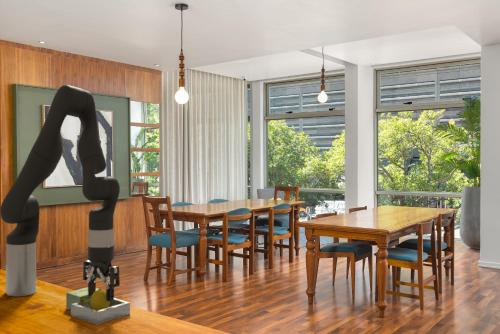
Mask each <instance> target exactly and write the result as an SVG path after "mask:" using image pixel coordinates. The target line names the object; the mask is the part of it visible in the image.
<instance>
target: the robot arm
mask: <svg viewBox="0 0 500 334" xmlns="http://www.w3.org/2000/svg"><path fill="white" fill-rule="evenodd" d="M67 116H71V117H73V118H78V119H79V121H80V123H81V126H82V127H81V128H82V131H81V134H80V137H79V140H78V142H77V153H78V156H79V157H78V158H79V161H80V163H81V168H82V186H81V187H82V190H81V191H82V194H83V195H82V196H84V198H85V199H86V200H87V201H90V202H99V201H102V203H101V205H100V206H98V207H95V208H93V209H91V210H90V211H89V212H88V233H87V260H84V261H83V266H82V267H83V268H82V269H83V271H82V280H84V281H86V283H87V287H88V295H89V296H92V294H93V293H94V292H95V291H96V288H97V285H96V284H97V283H96V281H97V280H98V279H99V280H101V282H102V283H103V284H104V286H105V291H106V301H108V302H109V301H113V299H114V298H115V288H118V287H120V286H121V285H120V266H119V265H115V266H113V265H112V261H113V260H114V258H115V232H114V215H115V211H116V207H117V203H118V200H119V197H120V188H121V186H120V183H119V180H118V179H117V178H116V177H114V176H96V175H98V174H101V173H103V172H104V171H105V170H106V169H107V161H106V158H105V155H104V151H103V149H102V145H101V141H100V137H99V128H98V120H97V118H98V117H97V110H96V103H95V98H94V96H93V94H92V93H91V92H90V91H89V90H86V89H84V88H80V87H76V86H74V85H69V84H63V85H62V86H60V87H59V88H58V89H57V91H56V92H55V94H54V97H53V99H52V101H51V104H50V107H49V110H48V112H47V116H46V118H45V120H44V123H43V125H42V127H41V129H40V131H39V134H38V136H37V138H36V140H35V142H34V144H33V145H32V147H31V150H30V151H29V153H28V155H27V158H26V159H25V160H26V161H25V162H24V165H23V166H22V168H21V170H20V172H19V174H18V176H17V178H16V179H15V181H14V183H13V185H12V186H11V188H10V189H9V191H8V192H7V194H5V196H4V199H3V200H2V202H1V205H0V217H1V219H2V221H3V222H4V223H7V224H9V225H11V224H12V225H14V224H16V225H15V228H14V229H13V230H12V231H10V232H9V233H8V234H7V235H6V238H5V239H6V240H5V244H6V245H5V246H6V248H5V249H6V251H5V254H6V257H5V258H6V264H5V293H6V295H7V296H8V297H25V296H31V295H34V294H35V293H36V292H37V236H38V234H39V231H40V230H39V229H40V203H39V201H38V198H37V197H35V196H34V195H33V192H35V190H36V189H37V188H38V187H39V186H41V184H43V183H44V182H45V181H46V180H47V179H48V178H49V177H50V176H51V175H52V174H53V173H54V171H55V170H56V168H57V166H58V165H59V163H60V160H61V158H62V156H63V153H64V152H63V151H64V148H63V140H62V133H61V131H62V130H61V129H62V128H63V127H62V126H63V123H64V121H65V120H66V117H67Z"/></svg>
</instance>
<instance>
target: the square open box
mask: <svg viewBox="0 0 500 334" xmlns="http://www.w3.org/2000/svg"><path fill="white" fill-rule="evenodd" d="M98 289H99V288H98V287H96V290H98ZM65 295H66V296H65V297H66V300H65V303H66V304H65V309H67V310H69V311H70V316H71V317H73V318H76V319H79V320H82V321H85V322H87V323H89V324H92V325H96V326H97V325H101V324H103V323H107V322H109V321H112V320H116V319H119V318H121V317H125V316H129V315H130V314H131V302H130V301H126V300H122V299H120V298H116V297H114V299H113V301H110V304H109V308H106V309H102V310H99V311H96V310H93V309H92V308H91V297H92V296H89V295H88V286H87V287H83V288H79V289H75V290H71V291H67V292H66V293H65Z"/></svg>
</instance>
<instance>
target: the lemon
mask: <svg viewBox="0 0 500 334" xmlns="http://www.w3.org/2000/svg"><path fill="white" fill-rule="evenodd" d="M109 304H110V301H109V302H108V301H106V289H103V288H98V290H96V291H95V292H94V293H93V294H92V297H91V308H92V309H93V310H96V311H99V310H102V309H106V308H109Z"/></svg>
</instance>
